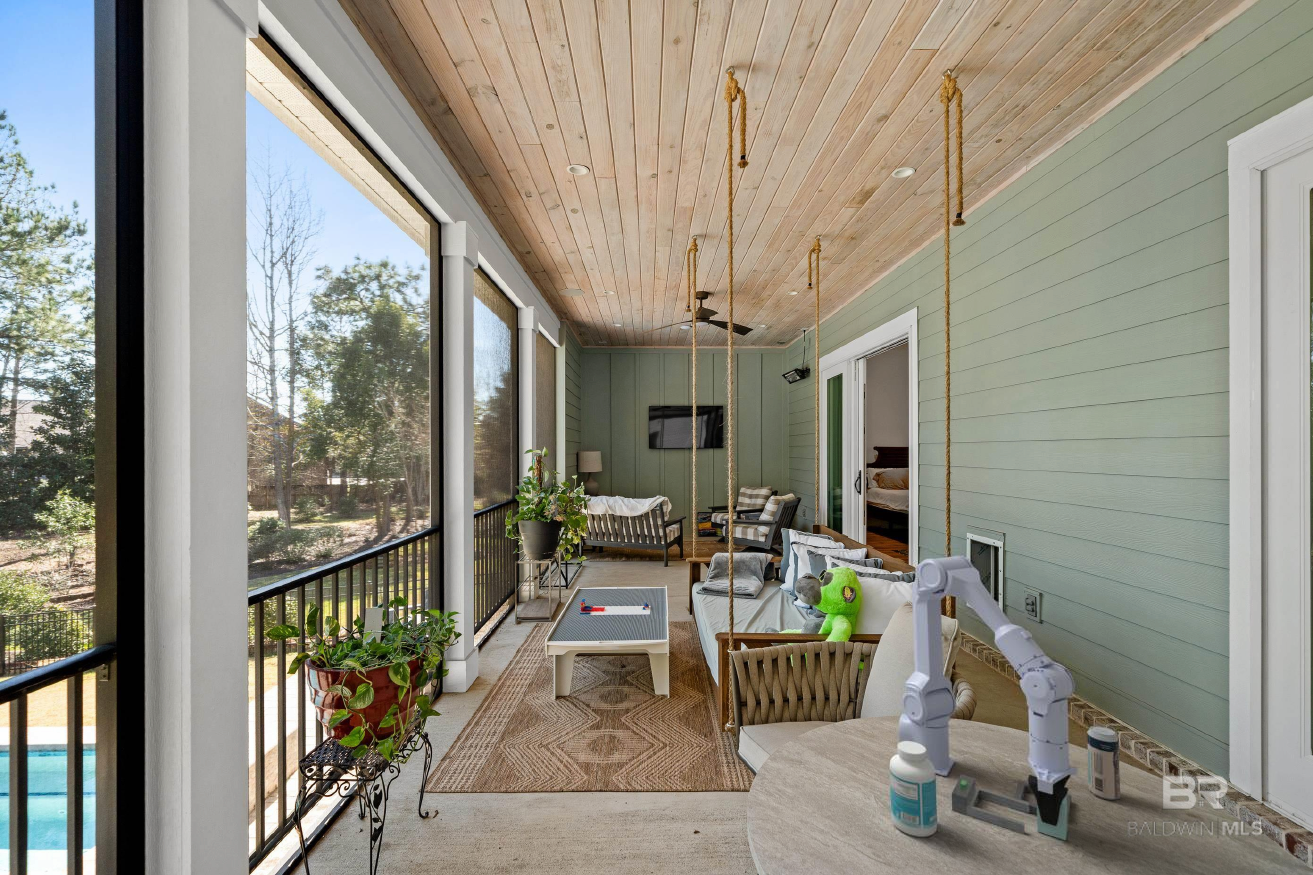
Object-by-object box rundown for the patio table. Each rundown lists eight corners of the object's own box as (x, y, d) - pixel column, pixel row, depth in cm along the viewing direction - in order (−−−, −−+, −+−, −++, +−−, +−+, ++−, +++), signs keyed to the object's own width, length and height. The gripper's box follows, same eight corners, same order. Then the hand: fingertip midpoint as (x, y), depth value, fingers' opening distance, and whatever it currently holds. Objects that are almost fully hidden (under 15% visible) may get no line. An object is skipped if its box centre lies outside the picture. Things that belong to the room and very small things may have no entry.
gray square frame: (1012, 806, 109) (1012, 799, 109) (1018, 786, 115) (1018, 780, 115) (1067, 823, 103) (1067, 816, 103) (1071, 801, 110) (1071, 795, 110)
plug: (1037, 830, 101) (1036, 790, 101) (1040, 819, 104) (1039, 780, 105) (1065, 840, 99) (1064, 799, 99) (1067, 828, 102) (1066, 788, 102)
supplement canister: (1125, 802, 110) (1124, 737, 110) (1096, 800, 110) (1095, 734, 111) (1111, 788, 114) (1109, 725, 115) (1083, 785, 115) (1082, 723, 116)
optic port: (952, 809, 108) (951, 789, 108) (961, 789, 114) (961, 770, 114) (1024, 833, 101) (1023, 812, 101) (1029, 811, 107) (1029, 791, 107)
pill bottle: (925, 812, 107) (924, 736, 107) (945, 839, 100) (943, 757, 100) (884, 812, 107) (882, 736, 107) (900, 839, 100) (899, 757, 100)
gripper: (1074, 760, 94) (1076, 847, 94) (1079, 727, 105) (1081, 804, 105) (1022, 747, 98) (1024, 830, 98) (1032, 716, 110) (1034, 791, 109)
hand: (1050, 816), depth 102 cm, fingers closed on plug, 4 cm apart
